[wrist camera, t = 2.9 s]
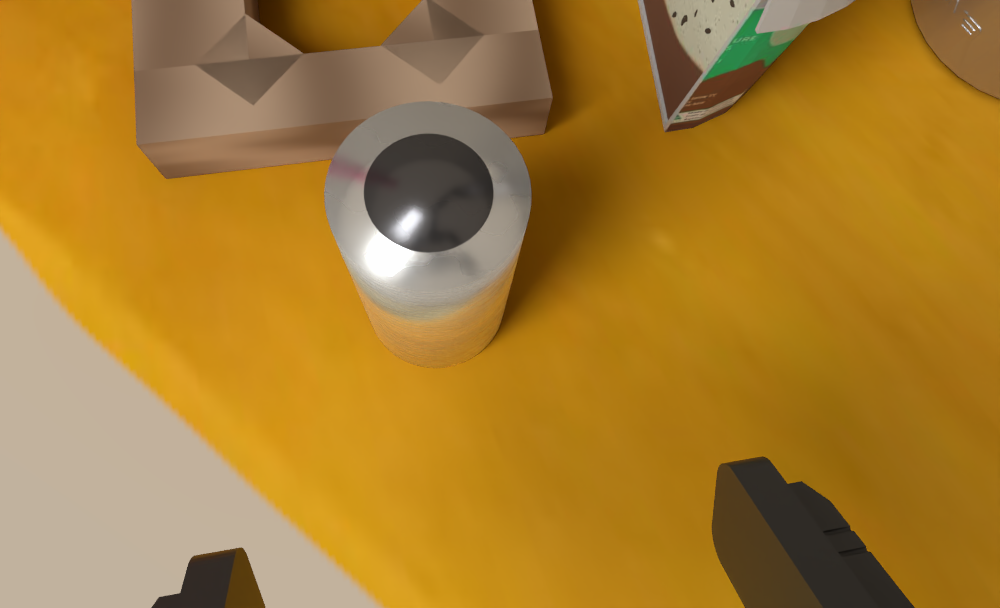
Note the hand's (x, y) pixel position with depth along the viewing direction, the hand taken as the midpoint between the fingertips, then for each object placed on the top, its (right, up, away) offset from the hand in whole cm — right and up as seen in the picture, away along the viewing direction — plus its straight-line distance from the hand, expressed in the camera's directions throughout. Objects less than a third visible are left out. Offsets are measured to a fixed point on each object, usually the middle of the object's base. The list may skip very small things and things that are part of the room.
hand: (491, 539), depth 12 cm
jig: (-6, +15, +16) cm, 23 cm away
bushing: (-2, +4, +13) cm, 14 cm away
